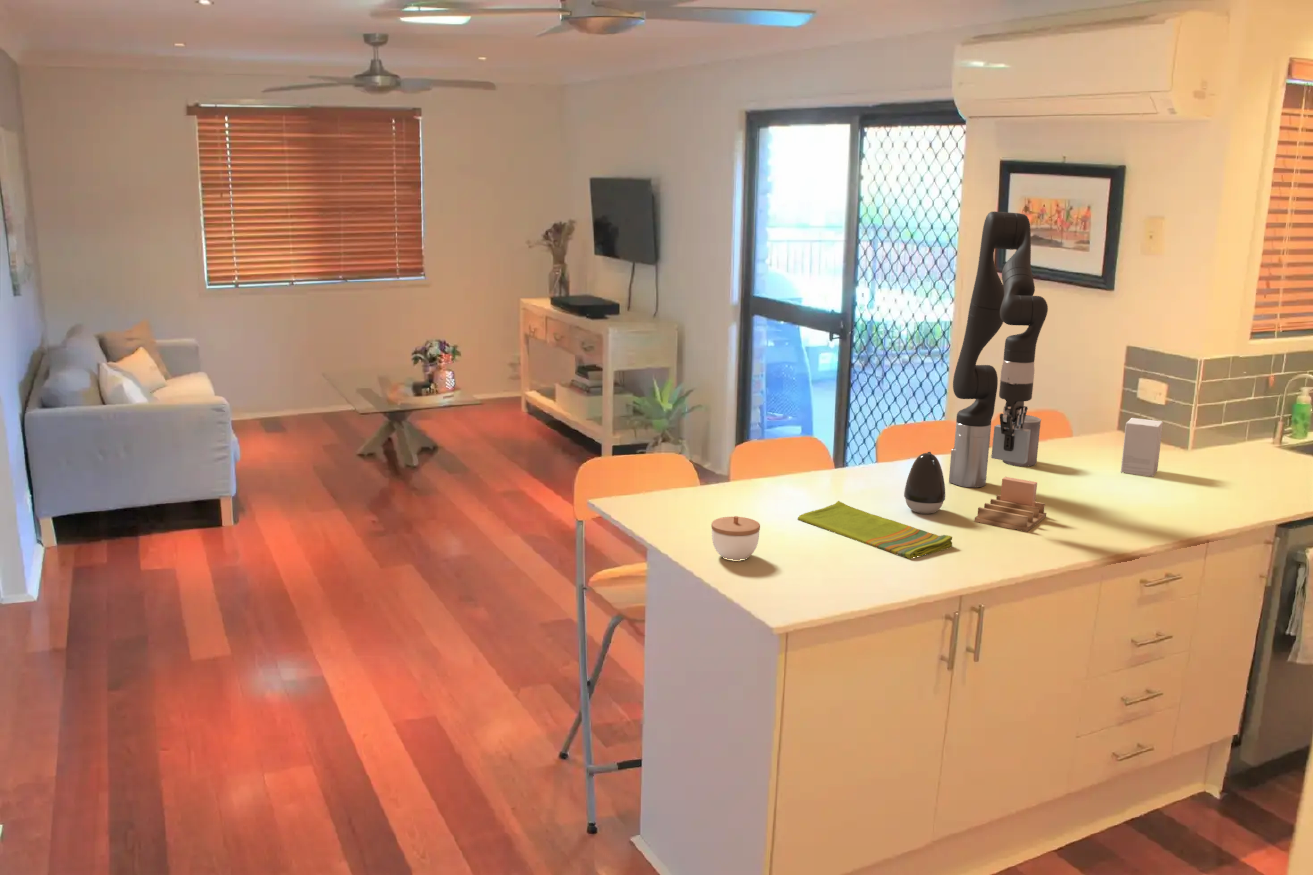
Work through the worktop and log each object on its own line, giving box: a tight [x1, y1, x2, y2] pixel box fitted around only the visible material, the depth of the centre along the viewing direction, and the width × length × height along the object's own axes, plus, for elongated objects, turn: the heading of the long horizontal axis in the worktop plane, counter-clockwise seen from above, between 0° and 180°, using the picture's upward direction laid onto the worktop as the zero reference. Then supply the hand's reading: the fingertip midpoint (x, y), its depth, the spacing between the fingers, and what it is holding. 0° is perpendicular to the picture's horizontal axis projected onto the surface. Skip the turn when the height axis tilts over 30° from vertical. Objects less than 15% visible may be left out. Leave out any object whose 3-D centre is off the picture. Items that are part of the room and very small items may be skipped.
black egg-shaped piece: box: [903, 451, 946, 515], centre depth 276 cm, size 10×10×15 cm
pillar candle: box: [1002, 414, 1042, 467], centre depth 325 cm, size 10×10×15 cm
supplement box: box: [1120, 417, 1164, 478], centre depth 317 cm, size 9×9×15 cm
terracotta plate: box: [1000, 476, 1038, 507], centre depth 275 cm, size 8×2×8 cm, turn 54°
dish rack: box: [974, 494, 1047, 533], centre depth 272 cm, size 13×15×4 cm
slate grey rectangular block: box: [990, 424, 1031, 464], centre depth 264 cm, size 8×2×8 cm, turn 54°
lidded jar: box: [710, 515, 761, 560], centre depth 242 cm, size 11×11×9 cm
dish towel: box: [797, 500, 953, 560], centre depth 260 cm, size 15×36×3 cm, turn 38°
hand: (1010, 449), depth 265 cm, fingers closed on slate grey rectangular block, 2 cm apart
